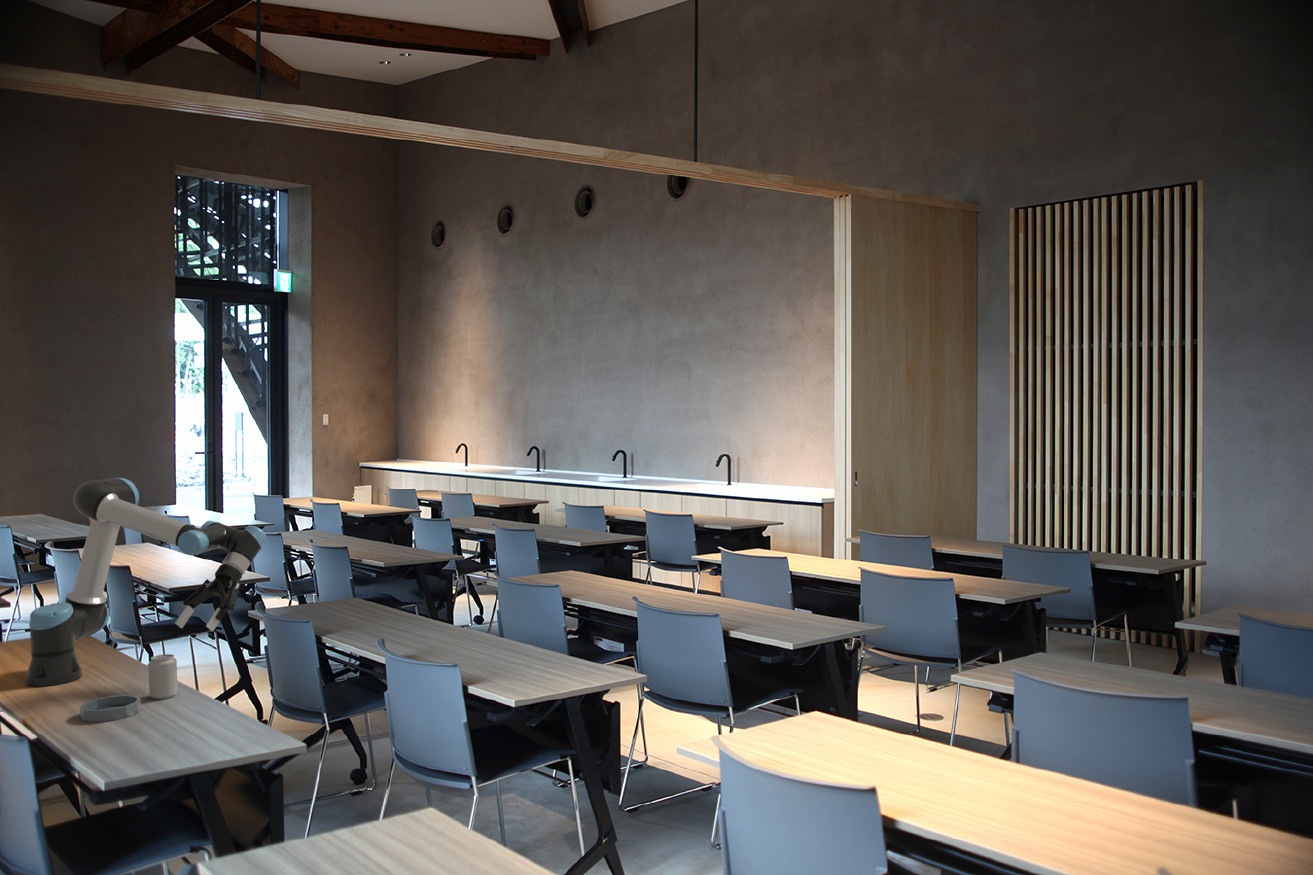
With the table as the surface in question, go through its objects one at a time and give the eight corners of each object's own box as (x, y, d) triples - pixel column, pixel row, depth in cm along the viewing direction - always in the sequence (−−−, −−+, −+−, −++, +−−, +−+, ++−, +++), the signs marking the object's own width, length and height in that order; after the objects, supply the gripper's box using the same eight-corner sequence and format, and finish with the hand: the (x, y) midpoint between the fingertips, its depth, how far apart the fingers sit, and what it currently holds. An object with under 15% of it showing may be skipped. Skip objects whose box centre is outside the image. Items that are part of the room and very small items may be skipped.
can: (170, 699, 289) (168, 659, 288) (144, 700, 289) (142, 659, 288) (182, 692, 296) (181, 652, 296) (158, 692, 296) (156, 653, 296)
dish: (75, 714, 276) (74, 703, 276) (131, 702, 286) (130, 692, 286) (89, 725, 266) (88, 714, 266) (147, 713, 276) (146, 702, 276)
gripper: (267, 578, 311) (230, 636, 298) (212, 575, 322) (174, 631, 309) (253, 564, 306) (214, 622, 293) (197, 561, 317) (158, 617, 304)
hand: (193, 627), depth 301 cm, fingers open, 13 cm apart
